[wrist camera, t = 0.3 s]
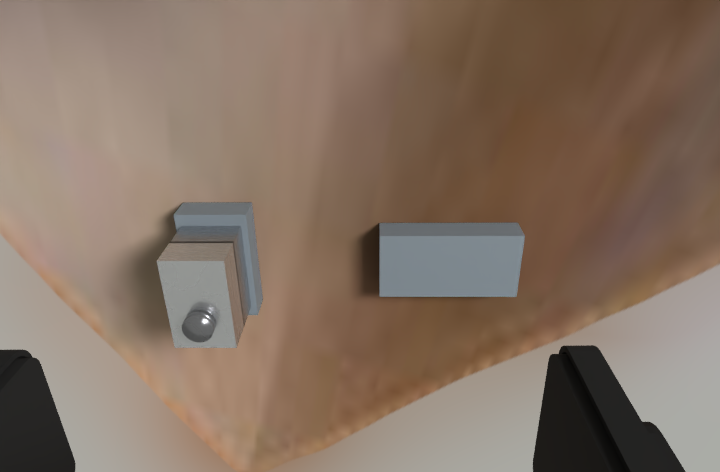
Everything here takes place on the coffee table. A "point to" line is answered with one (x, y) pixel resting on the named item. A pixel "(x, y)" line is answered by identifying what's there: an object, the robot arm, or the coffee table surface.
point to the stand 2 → (449, 259)
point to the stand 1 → (229, 217)
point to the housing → (205, 286)
